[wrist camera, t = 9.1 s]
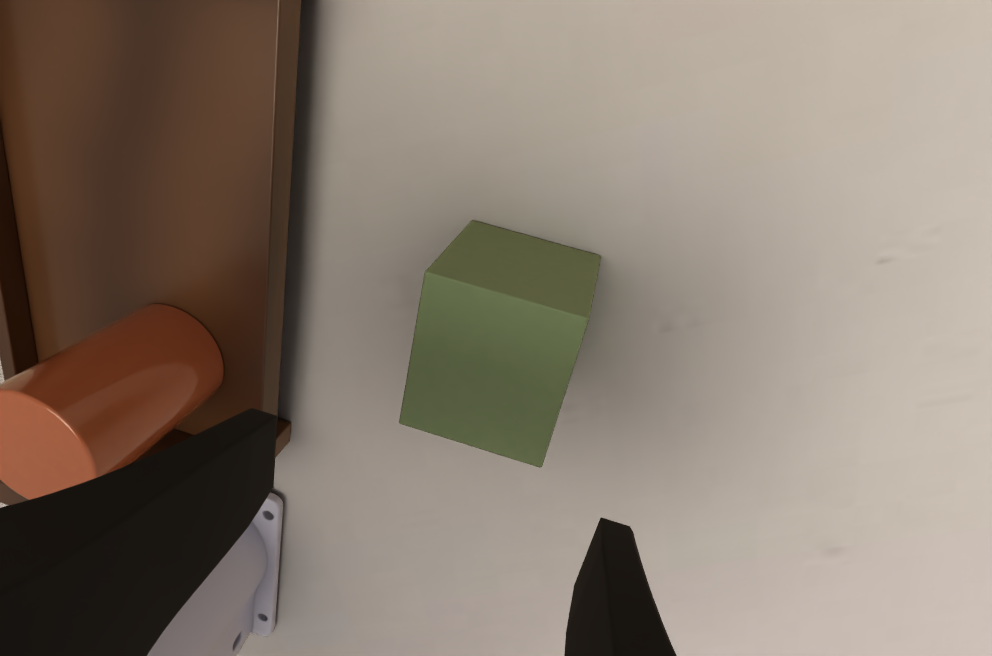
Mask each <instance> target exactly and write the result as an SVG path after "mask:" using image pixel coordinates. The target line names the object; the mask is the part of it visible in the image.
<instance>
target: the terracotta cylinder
mask: <svg viewBox="0 0 992 656" xmlns="http://www.w3.org/2000/svg"><path fill="white" fill-rule="evenodd" d="M223 375H224V363H223V358H222V355H221V352H220V349H219V347H218V345H217V343H216V341H215V340H214V338H213V337H212V335H211V334H210V333H209V331H208V330H207V329H206V328H205V327H204V326H203V325H202V324H201V323H200V322H199V321H198V320H196V319H195V318H194V317H193V316H191V315H190V314H188V313H186V312H184V311H182V310H180V309H178V308H175V307H173V306H169V305H163V304H150V305H145V306H142V307H139V308H138V309H136V310H134V311H132V312H130V313H128V314H127V315H125V316H123V317H121V318H119V319H117V320H116V321H114V322H112V323H110V324H108V325H106V326H105V327H103V328H101V329H99V330H97V331H96V332H94V333H92V334H90V335H88V336H86V337H85V338H83V339H81V340H79V341H77V342H75V343H74V344H72V345H70V346H68V347H66V348H64V349H63V350H61V351H59V352H57V353H55V354H54V355H52V356H50V357H48V358H46V359H44V360H43V361H41V362H39V363H37V364H35V365H33V366H32V367H30V368H28V369H26V370H24V371H22V372H21V373H19V374H17V375H15V376H13V377H11V378H10V379H8V380H6V381H4V382H2V383H1V384H0V480H1V481H2V482H3V483H5V484H6V485H7V486H8V487H9V488H11V489H12V490H14V491H15V492H17V493H18V494H20V495H22V496H23V497H25V498H27V499H29V500H31V499H34V498H38V497H41V496H44V495H48V494H51V493H54V492H57V491H60V490H63V489H66V488H69V487H72V486H75V485H78V484H81V483H83V482H86V481H89V480H92V479H94V478H97V477H100V476H102V475H105V474H107V473H110V472H113V471H115V470H117V469H120V468H122V467H124V466H127V465H129V464H131V463H134V462H135V461H136V460H137V459H138V458H140V457H141V456H142V455H143V454H144V453H145V452H147V451H148V450H149V449H150V448H151V447H153V446H154V445H155V444H156V443H157V442H158V441H160V440H161V439H162V438H163V437H164V436H166V435H167V434H168V433H169V432H170V431H172V430H173V429H174V428H175V427H176V426H177V425H179V424H180V423H181V422H182V421H183V420H185V419H186V418H187V417H188V416H189V415H190V414H192V413H193V412H194V411H195V410H196V409H198V408H199V407H200V406H201V405H202V404H203V403H205V402H206V401H207V400H208V399H209V398H211V397H212V396H213V395H214V394H215V393H216V392H217V390H218V389H219V387H220V385H221V383H222V380H223Z"/></svg>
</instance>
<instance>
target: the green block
mask: <svg viewBox="0 0 992 656" xmlns="http://www.w3.org/2000/svg"><path fill="white" fill-rule="evenodd" d="M600 259H601V256H599V255H596V254H592V253H589V252H585V251H581V250H578V249H574V248H571V247H567V246H563V245H560V244H556V243H553V242H549V241H545V240H542V239H538V238H535V237H531V236H527V235H524V234H520V233H517V232H513V231H509V230H506V229H502V228H499V227H495V226H491V225H488V224H484V223H481V222H477V221H473V220H472V221H471V222H470V223H469V224H468V225H467V226H466V228H465V229H464V230H463V231H462V232H461V233H460V234H459V235H458V236H457V237H456V239H455V240H454V241H453V242H452V243H451V244H450V245H449V246H448V247H447V248H446V249H445V251H444V252H443V253H442V254H441V255H440V256H439V257H438V258H437V259H436V260H435V262H434V263H433V264H432V265H431V266H430V267H429V268H428V269H427V270H426V272H425V275H424V281H423V286H422V292H421V298H420V304H419V310H418V316H417V321H416V327H415V333H414V339H413V345H412V350H411V356H410V362H409V368H408V374H407V380H406V385H405V391H404V397H403V403H402V409H401V415H400V420H399V423H400V424H403V425H406V426H409V427H412V428H416V429H419V430H422V431H425V432H428V433H431V434H435V435H438V436H441V437H444V438H447V439H451V440H454V441H457V442H460V443H463V444H467V445H470V446H473V447H476V448H479V449H482V450H486V451H489V452H492V453H495V454H498V455H502V456H505V457H508V458H511V459H514V460H518V461H521V462H524V463H527V464H530V465H533V466H537V467H542V465H543V462H544V459H545V456H546V453H547V449H548V446H549V443H550V440H551V437H552V434H553V431H554V427H555V424H556V421H557V418H558V415H559V412H560V409H561V405H562V402H563V399H564V396H565V393H566V390H567V387H568V384H569V380H570V377H571V374H572V371H573V368H574V365H575V362H576V358H577V355H578V352H579V349H580V346H581V343H582V340H583V336H584V333H585V330H586V327H587V324H588V321H589V316H590V311H591V306H592V301H593V296H594V290H595V285H596V280H597V275H598V270H599V265H600Z"/></svg>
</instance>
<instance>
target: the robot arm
mask: <svg viewBox="0 0 992 656" xmlns="http://www.w3.org/2000/svg"><path fill="white" fill-rule="evenodd" d="M276 433H277V416H276V415H273V414H270V413H267V412H263V411H260V410H257V409H254V408H250V409H248V410H246V411H244V412H241V413H239V414H237V415H235V416H233V417H231V418H229V419H227V420H225V421H223V422H221V423H219V424H217V425H215V426H213V427H211V428H209V429H206V430H204V431H202V432H200V433H198V434H196V435H194V436H192V437H190V438H188V439H185V440H183V441H181V442H179V443H177V444H175V445H173V446H171V447H168V448H166V449H164V450H162V451H160V452H158V453H155V454H153V455H150V456H148V457H146V458H143V459H141V460H139V461H136V462H134V463H131V464H129V465H127V466H124V467H122V468H120V469H117V470H115V471H113V472H110V473H107V474H105V475H102V476H100V477H97V478H94V479H92V480H89V481H86V482H83V483H81V484H78V485H75V486H72V487H69V488H66V489H63V490H60V491H57V492H54V493H51V494H48V495H44V496H41V497H38V498H34V499H31V500H27V501H23V502H20V503H16V504H13V505H9V506H6V507H2V508H0V656H236V655H237V653H238V652H239V650H240V649H241V647H242V645H243V644H244V642H245V641H246V639H247V638H248V636H249V635H250V633H251V632H252V633H255V634H257V635H260V636H264V637H267V636H270V635H271V634H272V632H273V631H274V628H275V617H276V602H277V588H278V573H279V559H280V544H281V530H282V515H283V502H282V500H281V499H280V497H278V496H277V495H275V494H273V493H270V492H271V490H272V488H273V485H274V468H275V451H276ZM270 512H271V513H270ZM565 656H676V654H675V651H674V649H673V647H672V645H671V642H670V640H669V637H668V635H667V632H666V630H665V628H664V625H663V622H662V620H661V617H660V614H659V612H658V609H657V607H656V604H655V601H654V599H653V596H652V593H651V590H650V587H649V584H648V581H647V578H646V575H645V572H644V569H643V566H642V563H641V559H640V556H639V552H638V549H637V545H636V542H635V538H634V534H633V531H632V529H631V528H630V526H627V525H624V524H620V523H617V522H614V521H611V520H608V519H604V518H600V521H599V523H598V526H597V528H596V531H595V534H594V536H593V539H592V541H591V544H590V546H589V549H588V551H587V554H586V557H585V559H584V562H583V564H582V567H581V569H580V572H579V575H578V577H577V580H576V582H575V585H574V590H573V596H572V601H571V607H570V613H569V619H568V625H567V631H566V642H565Z"/></svg>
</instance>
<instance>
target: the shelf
mask: <svg viewBox="0 0 992 656" xmlns="http://www.w3.org/2000/svg"><path fill="white" fill-rule="evenodd" d="M300 13H301V0H0V359H1V364H2V370H3V375H4V380H5V381H6V380H8V379H10V378H11V377H13V376H15V375H17V374H19V373H21V372H22V371H24V370H26V369H28V368H30V367H32V366H33V365H35V364H37V363H39V362H41V361H43V360H44V359H46V358H48V357H50V356H52V355H54V354H55V353H57V352H59V351H61V350H63V349H64V348H66V347H68V346H70V345H72V344H74V343H75V342H77V341H79V340H81V339H83V338H85V337H86V336H88V335H90V334H92V333H94V332H96V331H97V330H99V329H101V328H103V327H105V326H106V325H108V324H110V323H112V322H114V321H116V320H117V319H119V318H121V317H123V316H125V315H127V314H128V313H130V312H132V311H134V310H136V309H138V308H139V307H142V306H145V305H150V304H163V305H169V306H173V307H175V308H178V309H180V310H182V311H184V312H186V313H188V314H190V315H191V316H193V317H194V318H195V319H196V320H198V321H199V322H200V323H201V324H202V325H203V326H204V327H205V328H206V329H207V330H208V331H209V333H210V334H211V335H212V337H213V338H214V340H215V341H216V343H217V345H218V347H219V349H220V352H221V355H222V358H223V363H224V375H223V380H222V383H221V385H220V387H219V389H218V390H217V392H216V393H215V394H214V395H213V396H212V397H211V398H209V399H208V400H207V401H206V402H205V403H203V404H202V405H201V406H200V407H199V408H198V409H196V410H195V411H194V412H193V413H192V414H190V415H189V416H188V417H187V418H186V419H185V420H183V421H182V422H181V423H180V424H179V425H177V426H176V427H175V428H174V429H173V430H172V431H170V432H169V433H168V434H167V435H166V436H164V437H163V438H162V439H161V440H160V441H158V442H157V443H156V444H155V445H154V446H153V447H151V448H150V449H149V450H148V451H147V452H145V453H144V454H143V455H142V456H141V457H140V458H138V459H137V460H136V461H139V460H141V459H143V458H146V457H148V456H150V455H153V454H155V453H158V452H160V451H162V450H164V449H166V448H168V447H171V446H173V445H175V444H177V443H179V442H181V441H183V440H185V439H188V438H190V437H192V436H194V435H196V434H198V433H200V432H202V431H204V430H206V429H209V428H211V427H213V426H215V425H217V424H219V423H221V422H223V421H225V420H227V419H229V418H231V417H233V416H235V415H237V414H239V413H241V412H244V411H246V410H248V409H250V408H254V409H257V410H260V411H263V412H267V413H270V414H273V415H276V416H277V413H278V395H279V378H280V361H281V343H282V326H283V309H284V291H285V274H286V256H287V239H288V222H289V204H290V187H291V170H292V152H293V135H294V117H295V100H296V83H297V65H298V48H299V30H300ZM290 431H291V423H290V422H287V421H284V420H281V419H278V418H277V433H276V451H275V457H276V456H277V455H278V454H279V453H280V452H281V451H282V449H283V448H284V447H285V446H286V445H287V444H288V442H289V441H290ZM136 461H135V462H136ZM27 500H29V499H27V498H25V497H23V496H22V495H20V494H18V493H17V492H15V491H14V490H12V489H11V488H9V487H8V486H7V485H6V484H5V483H3V482H2V481H1V480H0V502H1V503H4V504H7V505H13V504H16V503H20V502H23V501H27Z"/></svg>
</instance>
